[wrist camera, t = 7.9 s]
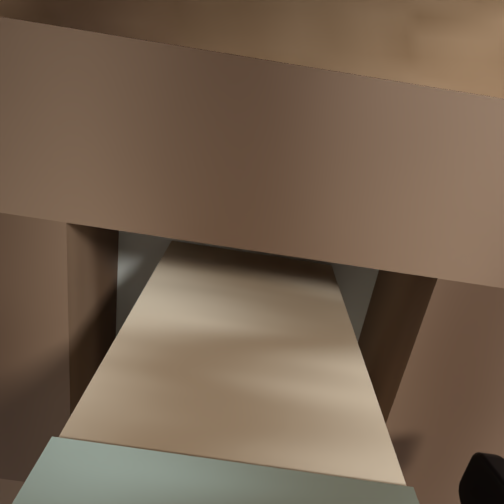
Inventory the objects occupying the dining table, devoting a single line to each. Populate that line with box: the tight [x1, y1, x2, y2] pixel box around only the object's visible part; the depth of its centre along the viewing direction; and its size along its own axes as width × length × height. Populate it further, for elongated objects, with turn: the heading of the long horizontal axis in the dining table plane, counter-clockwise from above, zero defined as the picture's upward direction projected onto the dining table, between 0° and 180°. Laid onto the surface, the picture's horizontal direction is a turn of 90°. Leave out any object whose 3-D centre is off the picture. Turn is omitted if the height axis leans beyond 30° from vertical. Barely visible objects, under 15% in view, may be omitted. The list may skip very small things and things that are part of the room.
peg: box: [12, 241, 419, 504], centre depth 8 cm, size 4×4×7 cm
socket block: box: [0, 17, 504, 504], centre depth 10 cm, size 12×12×4 cm
